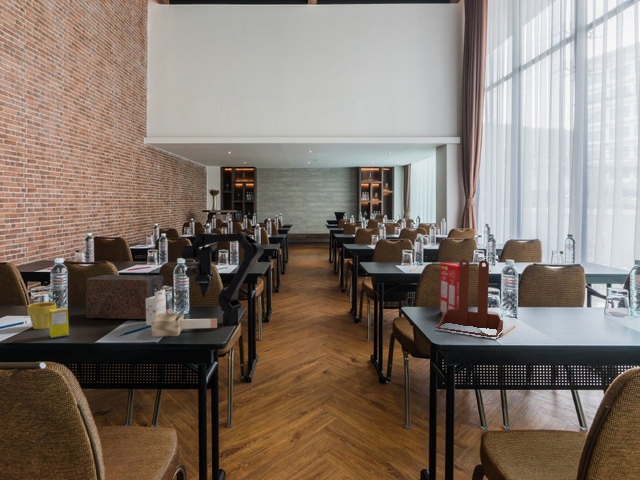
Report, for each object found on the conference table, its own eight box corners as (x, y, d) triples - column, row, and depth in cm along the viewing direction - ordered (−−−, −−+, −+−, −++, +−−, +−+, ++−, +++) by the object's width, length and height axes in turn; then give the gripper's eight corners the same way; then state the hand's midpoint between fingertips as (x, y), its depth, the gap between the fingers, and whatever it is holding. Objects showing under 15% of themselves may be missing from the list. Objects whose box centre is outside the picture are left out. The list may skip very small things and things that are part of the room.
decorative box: (103, 314, 213) (81, 319, 193) (105, 273, 214) (83, 274, 194) (165, 316, 213) (149, 321, 193) (167, 275, 214) (152, 276, 194)
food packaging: (465, 319, 203) (466, 266, 201) (455, 319, 202) (456, 266, 200) (449, 312, 217) (450, 262, 216) (439, 312, 216) (440, 263, 215)
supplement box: (66, 333, 174) (65, 306, 173) (68, 336, 169) (68, 309, 168) (48, 336, 170) (48, 308, 169) (51, 339, 165) (50, 311, 165)
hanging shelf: (435, 330, 182) (436, 260, 180) (445, 324, 193) (446, 257, 191) (495, 340, 169) (498, 264, 167) (502, 332, 180) (504, 261, 178)
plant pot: (58, 327, 182) (57, 305, 182) (28, 331, 176) (28, 308, 176) (55, 323, 191) (54, 301, 190) (27, 326, 184) (26, 303, 184)
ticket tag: (216, 326, 181) (216, 318, 181) (216, 327, 180) (216, 319, 180) (177, 328, 179) (177, 319, 179) (176, 329, 178) (176, 320, 177)
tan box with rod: (183, 326, 185) (183, 310, 185) (178, 335, 172) (177, 318, 171) (159, 327, 184) (159, 311, 184) (151, 336, 170) (151, 319, 170)
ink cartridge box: (156, 320, 196) (156, 288, 195) (166, 321, 195) (166, 289, 194) (145, 325, 188) (144, 291, 187) (155, 326, 187) (155, 292, 186)
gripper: (189, 258, 202) (189, 291, 203) (182, 263, 184) (183, 299, 184) (213, 258, 204) (213, 291, 205) (209, 262, 185) (209, 298, 186)
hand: (205, 294), depth 195 cm, fingers open, 9 cm apart
